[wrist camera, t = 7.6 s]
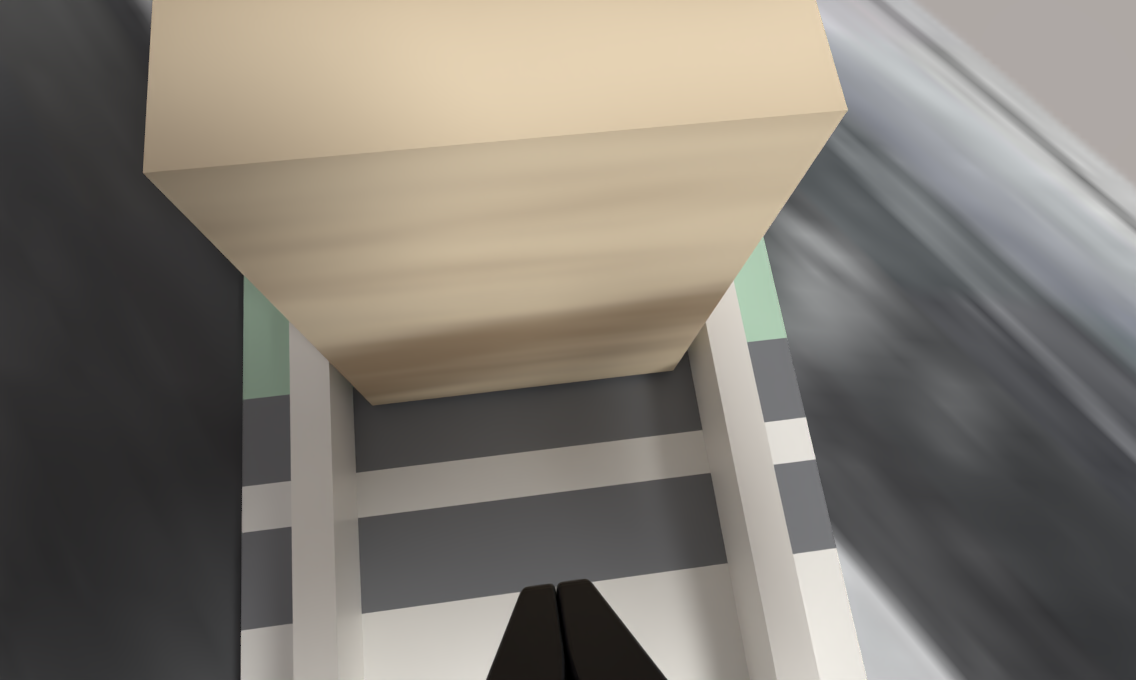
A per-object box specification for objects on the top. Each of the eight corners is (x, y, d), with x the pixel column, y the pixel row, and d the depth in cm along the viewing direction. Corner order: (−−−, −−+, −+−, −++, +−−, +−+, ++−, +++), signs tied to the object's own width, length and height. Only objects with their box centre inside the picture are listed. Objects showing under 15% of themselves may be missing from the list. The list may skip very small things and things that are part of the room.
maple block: (673, 370, 17) (847, 109, 7) (372, 405, 16) (143, 173, 7) (639, 184, 18) (748, -232, 9) (363, 210, 18) (164, -203, 8)
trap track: (917, 937, 14) (992, 1009, 12) (248, 1060, 13) (184, 1167, 11) (736, 154, 20) (764, 97, 17) (251, 199, 19) (210, 145, 16)
